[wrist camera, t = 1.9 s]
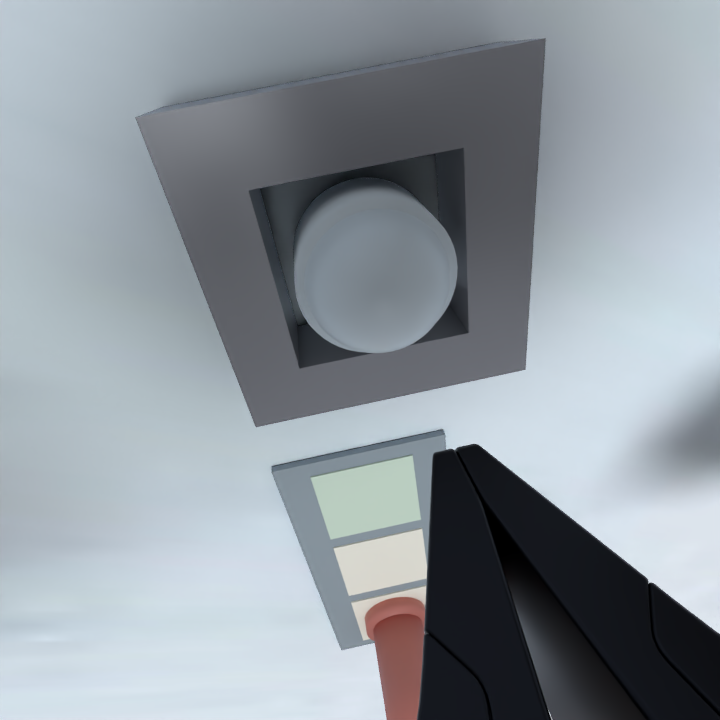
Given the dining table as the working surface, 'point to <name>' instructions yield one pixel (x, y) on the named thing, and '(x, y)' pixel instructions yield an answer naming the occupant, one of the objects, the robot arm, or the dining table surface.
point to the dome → (372, 266)
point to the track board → (363, 525)
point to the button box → (348, 152)
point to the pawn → (398, 653)
